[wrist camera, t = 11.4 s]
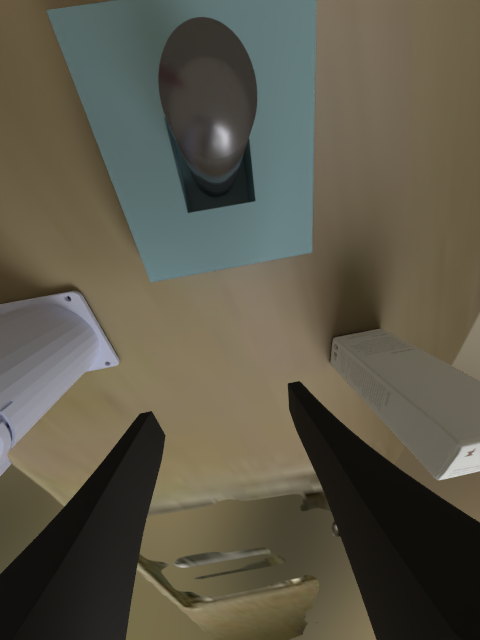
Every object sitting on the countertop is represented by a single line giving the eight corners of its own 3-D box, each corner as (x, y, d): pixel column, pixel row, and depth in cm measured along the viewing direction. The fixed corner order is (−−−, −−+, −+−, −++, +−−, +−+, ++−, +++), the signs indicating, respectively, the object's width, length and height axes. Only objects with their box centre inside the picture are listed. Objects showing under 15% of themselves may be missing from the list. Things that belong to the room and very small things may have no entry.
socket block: (162, 274, 16) (150, 282, 13) (90, 67, 10) (45, 10, 8) (296, 249, 16) (311, 252, 13) (292, 37, 11) (316, -28, 8)
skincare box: (328, 364, 23) (432, 487, 12) (331, 334, 21) (459, 447, 10) (376, 355, 23) (522, 467, 12) (383, 324, 21) (566, 424, 10)
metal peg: (201, 202, 13) (183, 170, 6) (185, 151, 12) (138, 36, 5) (240, 190, 13) (266, 143, 6) (228, 137, 12) (243, 0, 5)
